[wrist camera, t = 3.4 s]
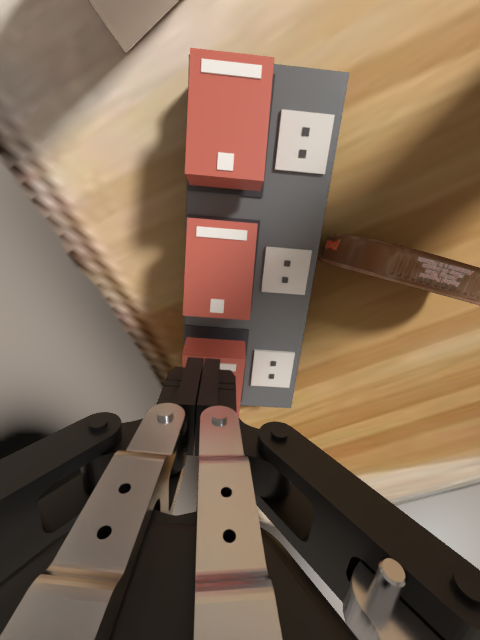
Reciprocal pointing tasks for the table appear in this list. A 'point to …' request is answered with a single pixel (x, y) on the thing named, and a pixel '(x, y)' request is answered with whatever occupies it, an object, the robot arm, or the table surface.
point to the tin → (404, 266)
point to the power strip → (279, 229)
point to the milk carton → (131, 17)
